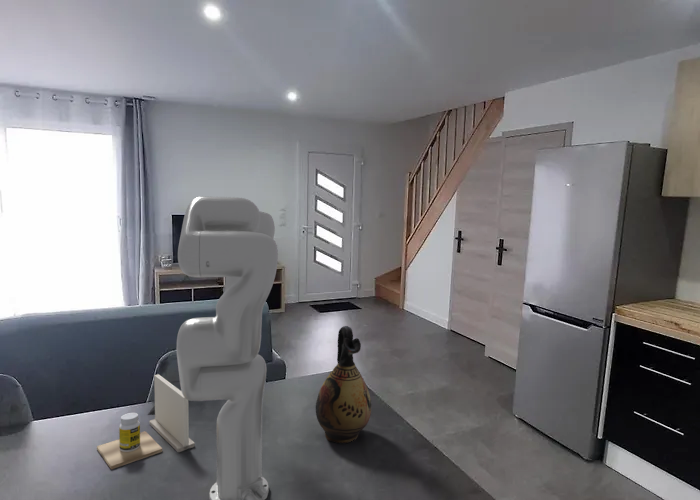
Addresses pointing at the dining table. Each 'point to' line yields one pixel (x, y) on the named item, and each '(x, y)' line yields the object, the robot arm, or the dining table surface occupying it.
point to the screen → (171, 415)
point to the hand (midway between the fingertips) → (239, 321)
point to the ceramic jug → (344, 394)
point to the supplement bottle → (129, 432)
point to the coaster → (119, 458)
